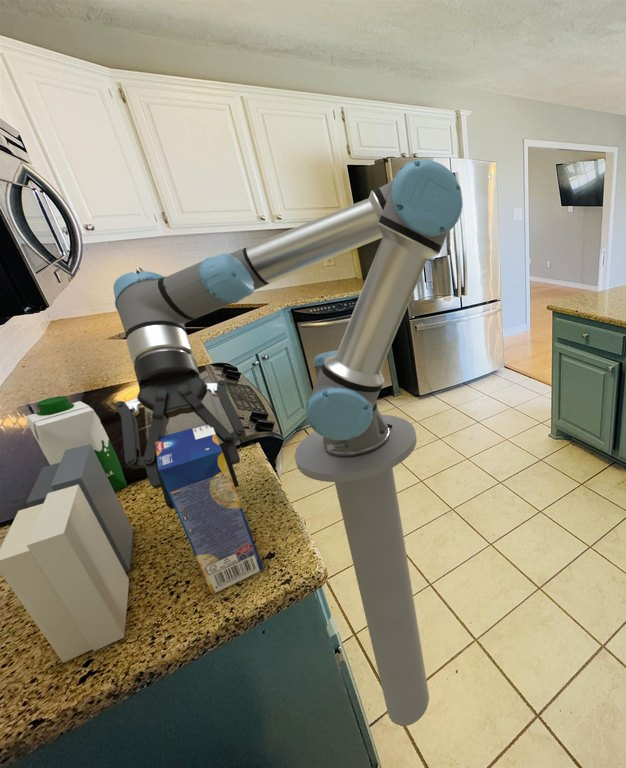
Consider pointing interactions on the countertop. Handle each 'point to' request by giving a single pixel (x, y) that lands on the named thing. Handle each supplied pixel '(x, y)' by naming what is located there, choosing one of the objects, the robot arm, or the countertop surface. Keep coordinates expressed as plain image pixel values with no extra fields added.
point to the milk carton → (74, 434)
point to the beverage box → (208, 505)
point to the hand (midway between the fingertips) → (204, 494)
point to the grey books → (89, 496)
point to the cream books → (66, 574)
